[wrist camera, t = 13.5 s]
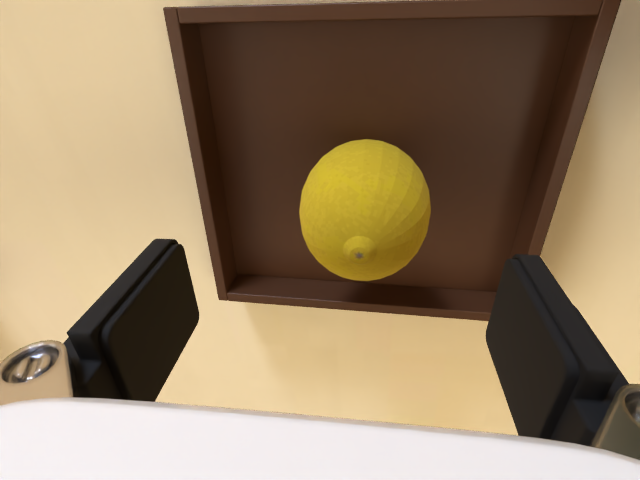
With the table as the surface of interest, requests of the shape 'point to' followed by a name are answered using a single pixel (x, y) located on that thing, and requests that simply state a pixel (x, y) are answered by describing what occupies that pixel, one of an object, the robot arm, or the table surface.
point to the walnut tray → (384, 134)
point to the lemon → (365, 210)
